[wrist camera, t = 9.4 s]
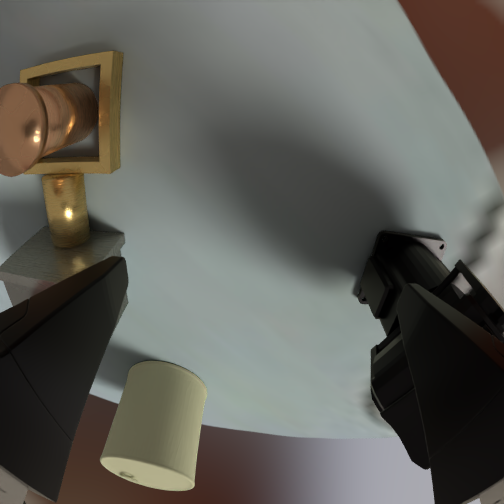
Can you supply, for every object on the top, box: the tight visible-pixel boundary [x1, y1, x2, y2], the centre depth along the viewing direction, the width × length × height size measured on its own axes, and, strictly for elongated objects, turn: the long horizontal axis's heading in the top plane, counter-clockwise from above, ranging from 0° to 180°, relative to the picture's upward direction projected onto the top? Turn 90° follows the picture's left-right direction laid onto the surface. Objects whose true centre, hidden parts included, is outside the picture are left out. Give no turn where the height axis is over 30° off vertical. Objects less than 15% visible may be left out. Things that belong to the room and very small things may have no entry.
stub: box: [0, 83, 98, 177], centre depth 14 cm, size 5×5×7 cm
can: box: [100, 361, 207, 491], centre depth 26 cm, size 9×9×12 cm
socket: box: [20, 51, 123, 174], centre depth 17 cm, size 8×8×2 cm
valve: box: [0, 173, 128, 334], centre depth 18 cm, size 8×12×9 cm
